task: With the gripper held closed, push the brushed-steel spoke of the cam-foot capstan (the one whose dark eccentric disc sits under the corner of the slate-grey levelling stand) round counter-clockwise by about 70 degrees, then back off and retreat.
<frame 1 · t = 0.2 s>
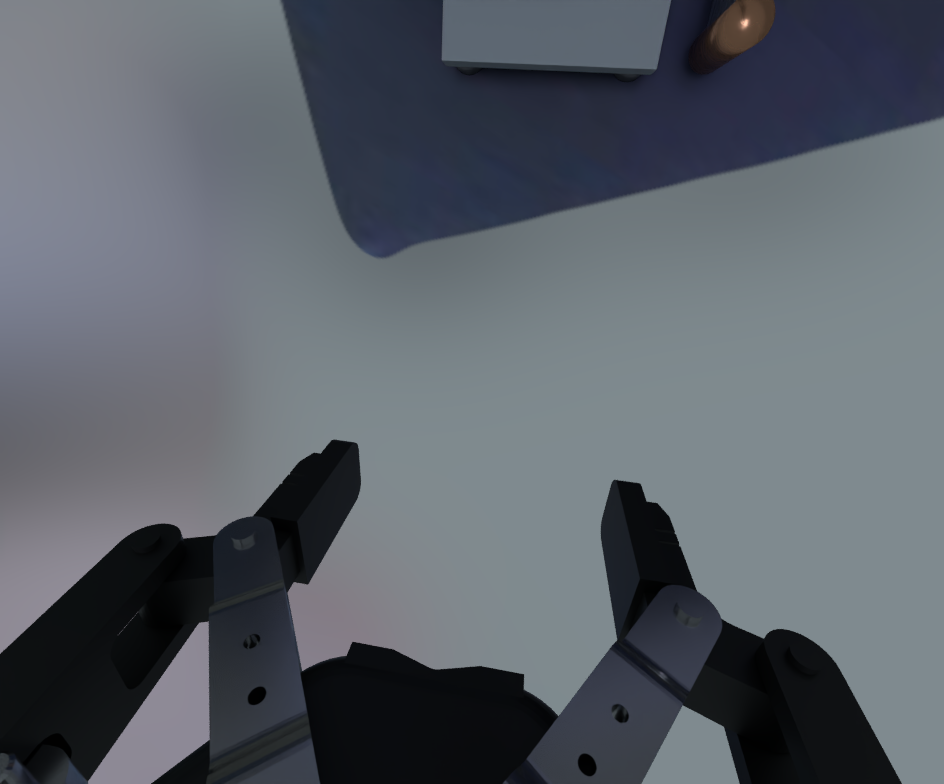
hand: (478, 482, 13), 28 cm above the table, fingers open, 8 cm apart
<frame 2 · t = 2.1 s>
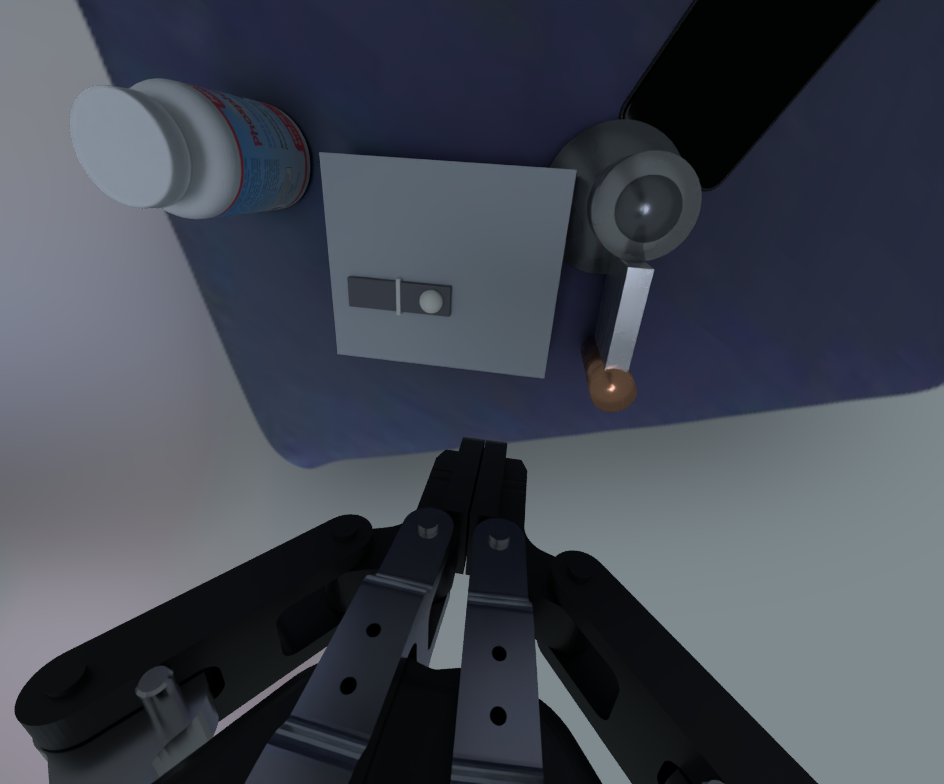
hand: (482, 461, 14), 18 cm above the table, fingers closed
pill bottle: (271, 158, 28), on the table
smartphone: (765, 21, 22), on the table
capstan: (603, 265, 24), point 4 cm above the table, hinge at 0.0°
stand: (453, 261, 29), on the table
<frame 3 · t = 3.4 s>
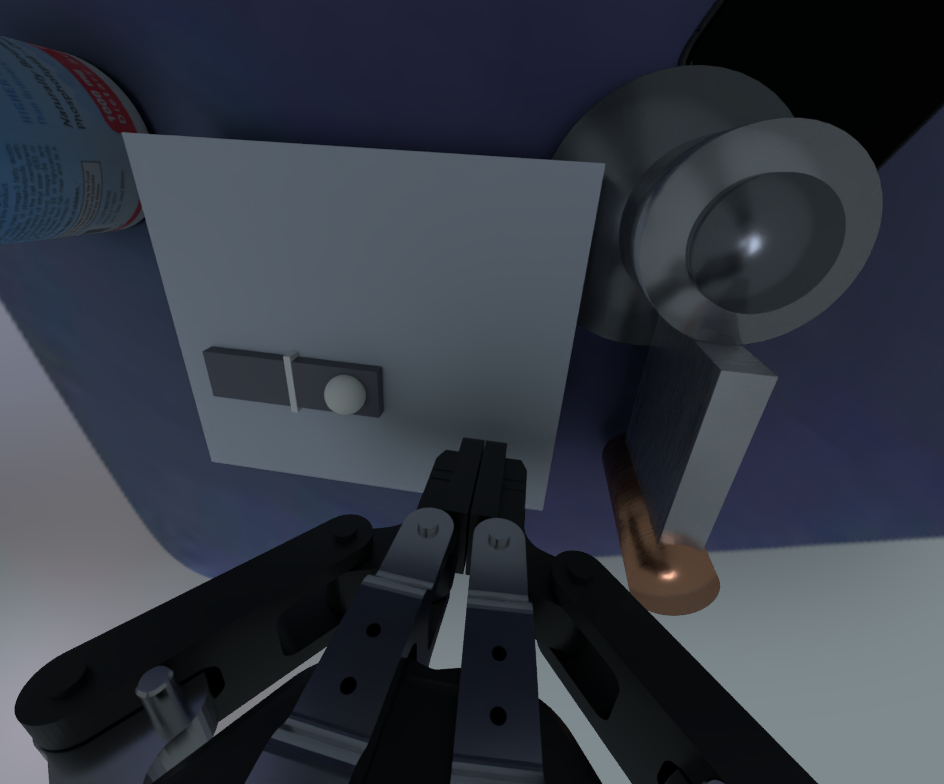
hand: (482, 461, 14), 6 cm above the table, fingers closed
pill bottle: (98, 148, 17), on the table
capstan: (651, 339, 13), point 4 cm above the table, hinge at 0.0°
stand: (398, 313, 18), on the table
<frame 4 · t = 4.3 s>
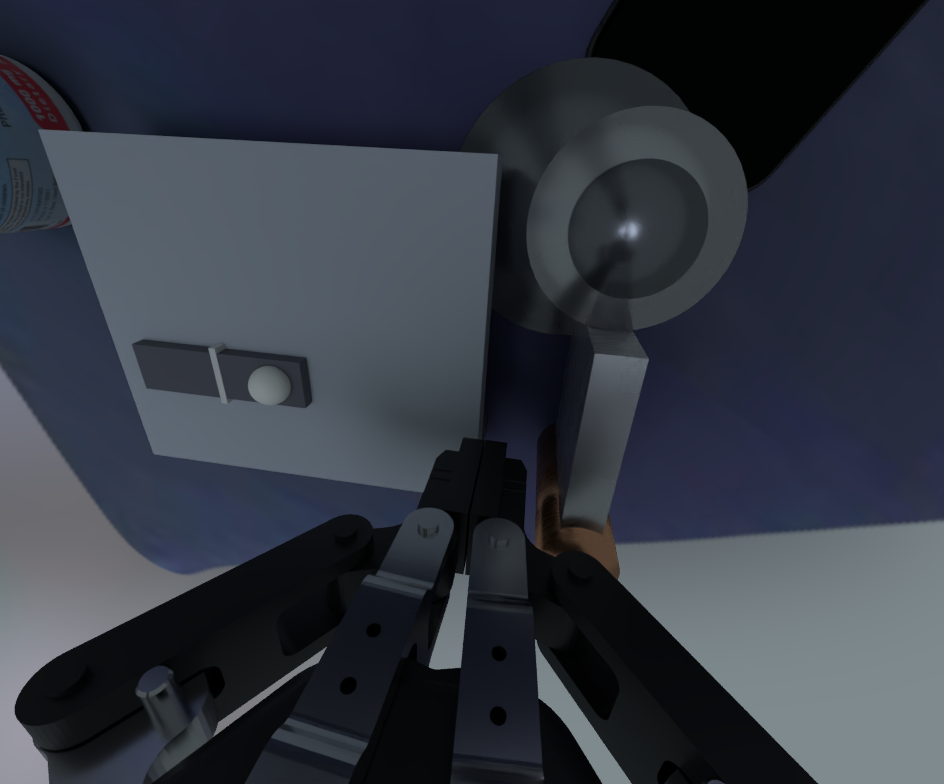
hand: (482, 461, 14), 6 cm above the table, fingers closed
pill bottle: (38, 147, 18), on the table
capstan: (559, 327, 13), point 4 cm above the table, hinge at 0.0°, touching gripper
stand: (336, 306, 19), on the table
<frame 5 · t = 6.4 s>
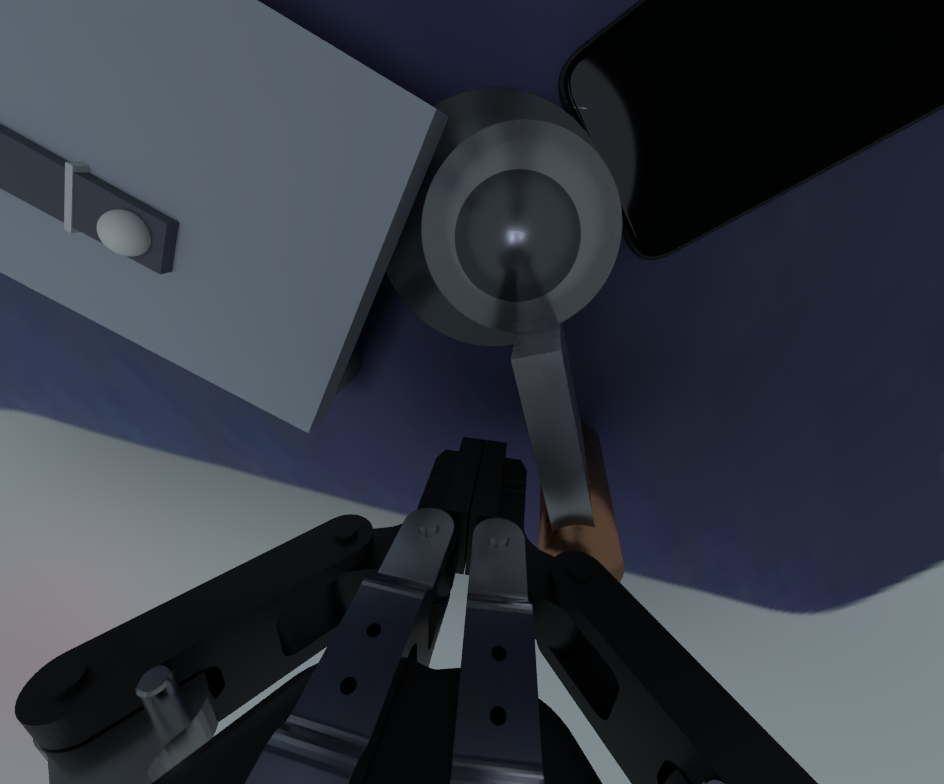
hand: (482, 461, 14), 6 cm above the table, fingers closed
smartphone: (829, 28, 13), on the table
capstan: (505, 339, 14), point 4 cm above the table, hinge at 43.0°, touching gripper
stand: (245, 190, 17), on the table
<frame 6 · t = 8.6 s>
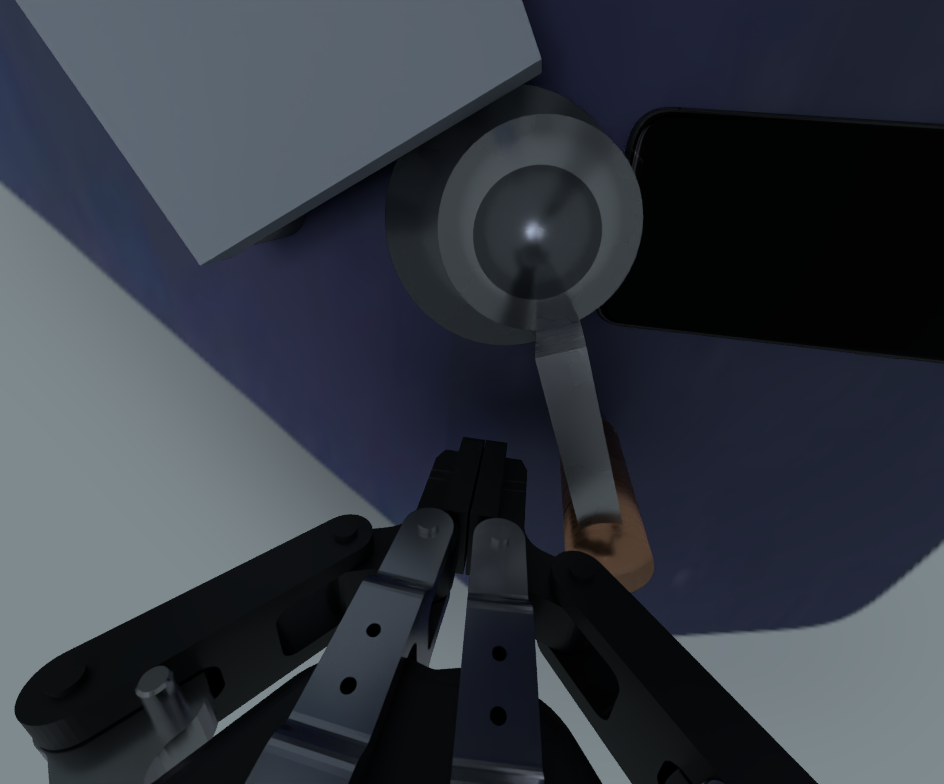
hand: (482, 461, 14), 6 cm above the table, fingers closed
smartphone: (819, 242, 15), on the table
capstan: (522, 337, 14), point 4 cm above the table, hinge at 81.7°
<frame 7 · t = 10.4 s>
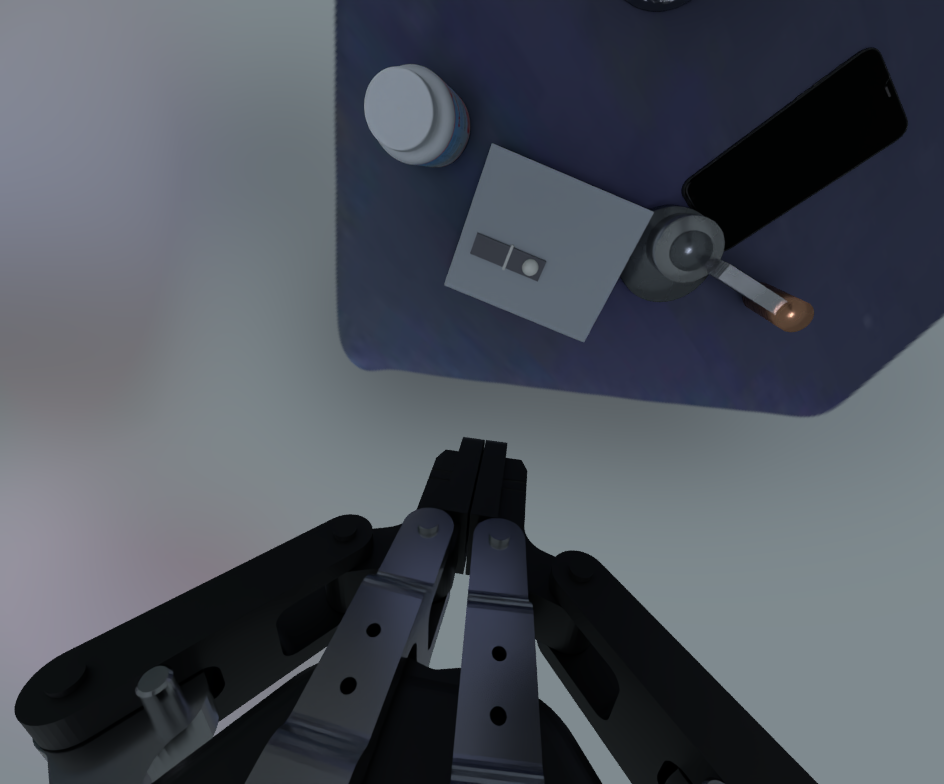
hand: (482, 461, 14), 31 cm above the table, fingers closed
pill bottle: (437, 128, 37), on the table
smartphone: (783, 160, 35), on the table
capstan: (703, 279, 36), point 4 cm above the table, hinge at 81.7°
stand: (541, 244, 40), on the table
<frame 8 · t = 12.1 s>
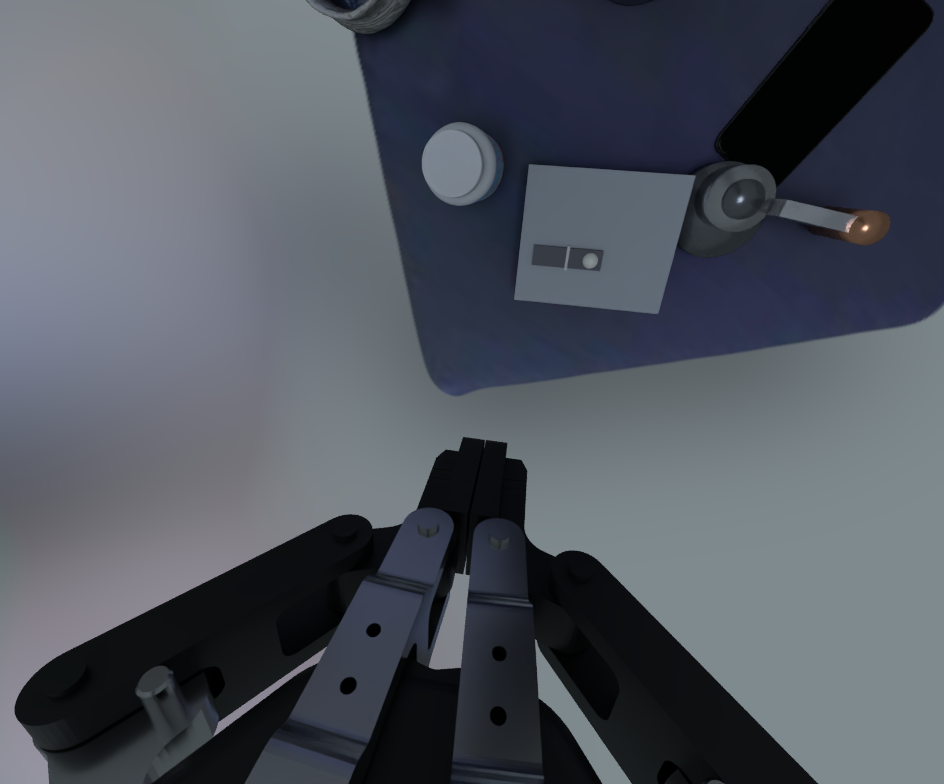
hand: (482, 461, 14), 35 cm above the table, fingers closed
pill bottle: (473, 167, 42), on the table
smartphone: (810, 88, 36), on the table
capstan: (762, 221, 36), point 4 cm above the table, hinge at 81.7°
stand: (592, 237, 43), on the table
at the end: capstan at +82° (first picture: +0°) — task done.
